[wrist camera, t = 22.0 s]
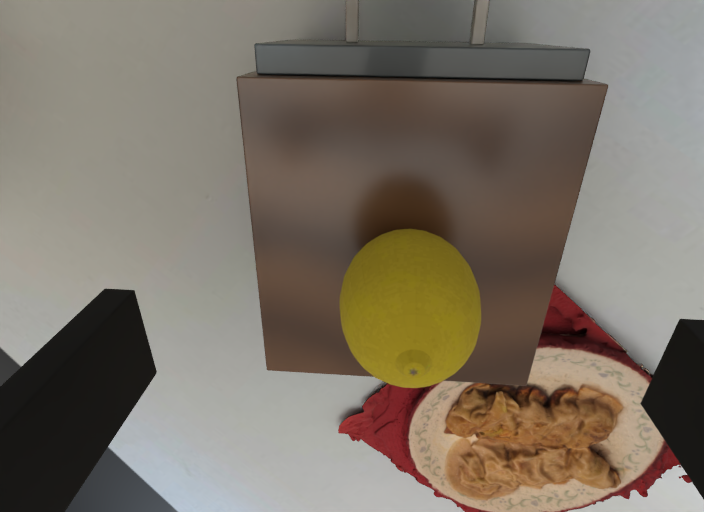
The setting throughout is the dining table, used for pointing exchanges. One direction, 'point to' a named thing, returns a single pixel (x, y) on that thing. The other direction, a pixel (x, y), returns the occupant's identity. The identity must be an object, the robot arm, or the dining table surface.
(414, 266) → the lemon
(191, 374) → the dining table surface
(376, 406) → the plate with food
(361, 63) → the drawer
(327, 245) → the cabinet
